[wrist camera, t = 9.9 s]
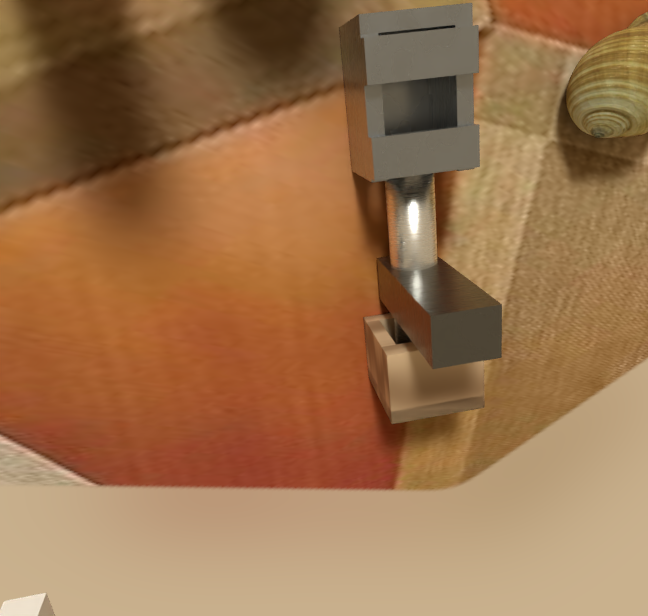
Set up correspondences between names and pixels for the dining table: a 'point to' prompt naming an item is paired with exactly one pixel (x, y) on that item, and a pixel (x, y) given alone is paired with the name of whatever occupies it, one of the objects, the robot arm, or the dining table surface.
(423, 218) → the sliding bolt
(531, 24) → the dining table surface
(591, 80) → the seashell
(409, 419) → the socket
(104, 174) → the dining table surface
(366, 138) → the sleeve
